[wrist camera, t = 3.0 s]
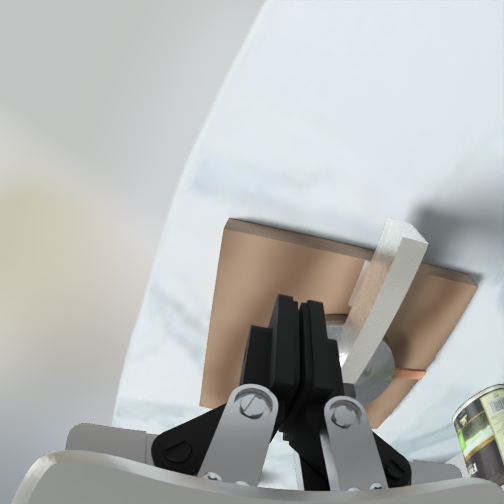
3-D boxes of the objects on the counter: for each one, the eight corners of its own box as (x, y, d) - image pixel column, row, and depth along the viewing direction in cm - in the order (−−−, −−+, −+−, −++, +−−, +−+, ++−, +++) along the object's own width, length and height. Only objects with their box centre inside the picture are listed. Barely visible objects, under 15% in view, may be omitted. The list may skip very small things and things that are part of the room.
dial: (358, 406, 29) (363, 440, 25) (250, 392, 29) (245, 428, 25) (458, 232, 19) (487, 261, 15) (309, 190, 19) (315, 214, 15)
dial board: (468, 274, 23) (479, 288, 21) (374, 416, 33) (377, 430, 31) (228, 218, 23) (222, 230, 21) (203, 392, 34) (198, 407, 31)
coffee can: (455, 431, 36) (472, 500, 23) (448, 408, 32) (472, 491, 20) (506, 402, 32) (531, 468, 20) (508, 373, 29) (543, 449, 16)
